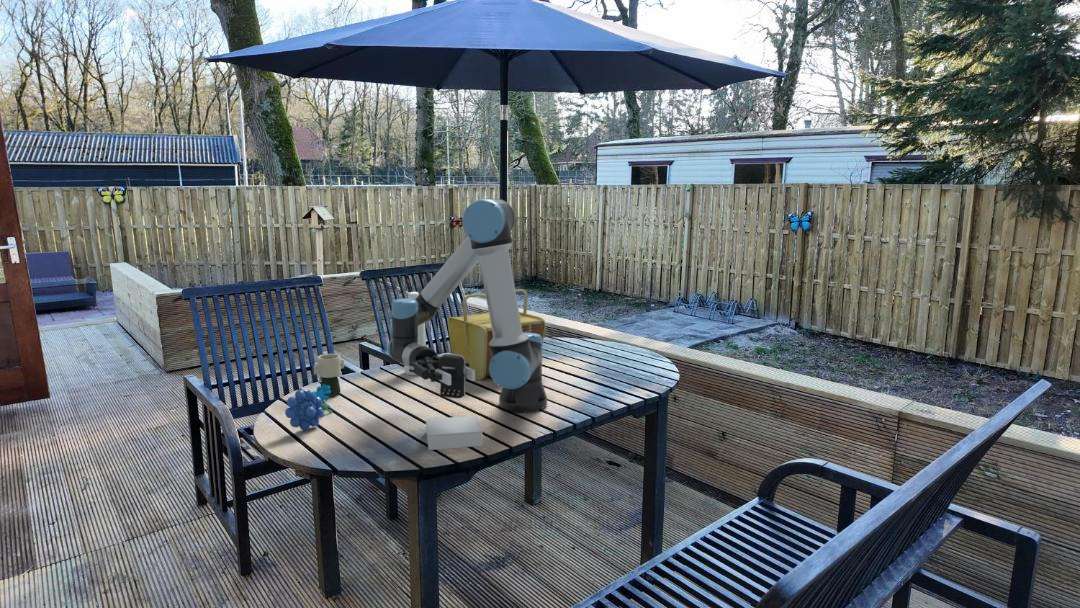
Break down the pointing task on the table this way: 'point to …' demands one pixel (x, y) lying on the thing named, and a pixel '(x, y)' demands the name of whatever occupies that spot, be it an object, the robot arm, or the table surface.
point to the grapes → (304, 409)
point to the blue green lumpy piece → (323, 396)
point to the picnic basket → (484, 335)
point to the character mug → (329, 371)
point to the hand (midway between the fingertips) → (461, 377)
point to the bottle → (420, 332)
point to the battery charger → (453, 375)
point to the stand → (453, 432)
